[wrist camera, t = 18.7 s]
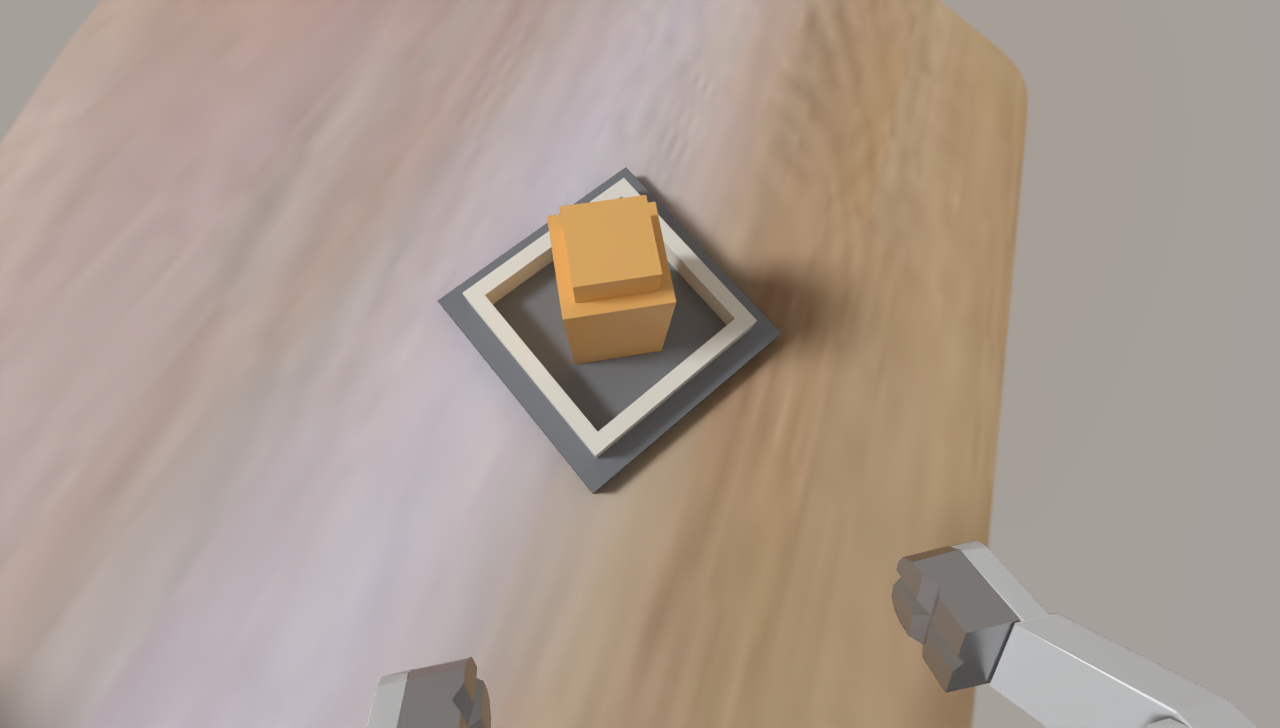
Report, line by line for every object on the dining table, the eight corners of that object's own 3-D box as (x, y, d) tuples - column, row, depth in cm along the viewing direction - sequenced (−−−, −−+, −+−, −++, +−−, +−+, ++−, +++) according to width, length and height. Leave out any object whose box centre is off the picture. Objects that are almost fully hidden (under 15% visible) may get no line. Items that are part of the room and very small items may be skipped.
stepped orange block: (661, 350, 29) (681, 286, 20) (575, 364, 28) (558, 305, 20) (646, 271, 30) (658, 179, 21) (562, 283, 29) (541, 194, 21)
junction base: (776, 338, 30) (790, 323, 28) (593, 493, 28) (591, 492, 25) (625, 177, 32) (626, 150, 30) (443, 307, 30) (428, 289, 27)
